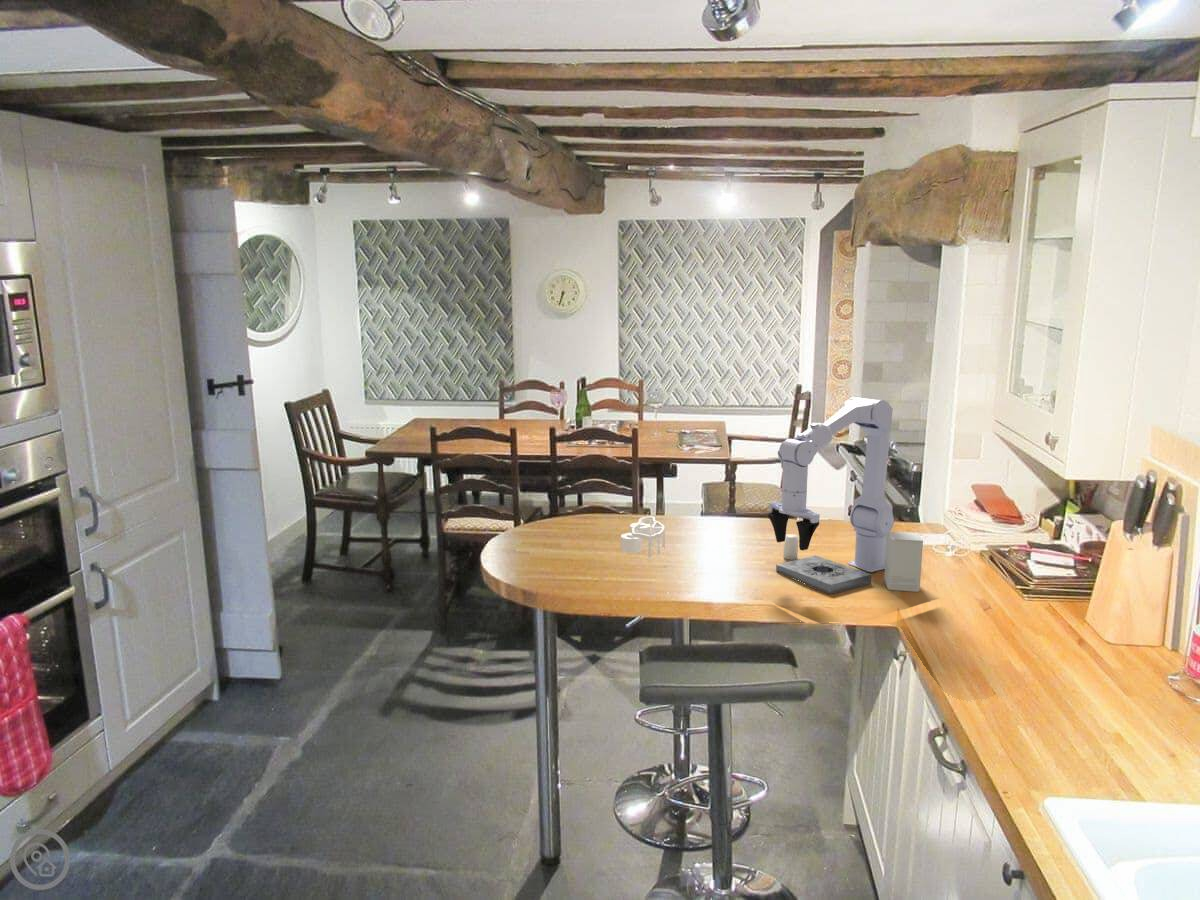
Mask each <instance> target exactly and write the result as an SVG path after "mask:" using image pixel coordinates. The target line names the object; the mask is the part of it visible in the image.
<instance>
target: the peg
mask: <svg viewBox="0 0 1200 900" xmlns="http://www.w3.org/2000/svg"><path fill="white" fill-rule="evenodd" d="M798 553H799V535H797V534H790V533H789V534H787V533H786V537H785V541H784V542H783V555H782V556H783V558H784V559H785V558H786V560H788V559H790V560H789V561H794V560H795V559H796V560H798V558H799V557H798V555H799V554H798Z"/></svg>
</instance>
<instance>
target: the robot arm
mask: <svg viewBox="0 0 1200 900" xmlns="http://www.w3.org/2000/svg"><path fill="white" fill-rule="evenodd" d="M893 410H894V408H893V407H892V405H890V403H889V402H888V401H887V400H884V399H875V398H874V399H873V398H866V397H865V398H864V397H859V396H856V395H855V396H852V397H850V398H849V399H847V400H845V401H844V403H843V407H842V408H841V409H839V410H838V411H837V412H836V413H834V414H833V415H832V416H831V417H830V418H829V419H827V420H826V421H825V422H824V423H822V422H812V423H811V424H810V425H809V427H808V428H807V429H806V430H804V431H803V432H801V433H798V434H797V435H796V437H794V438H787V439H786V440H784V441H782V443H781V444H780V446H779V448H778V449H779V450H777V455H778V459H779V461H780V468H781V469H782V477H781V478H782V480H781V481H782V482H781V483H782V484H781V487H782V488H781V502H778V501H770V502H768V510H769V511H771V512H770V513H768V514H767V517H768V519H769V520H770V523H771V525H772V528H773V531H774V535H775V539H776V543H784V541H785V537H786V535H787V526H788V521H789V518H790V516H791V517H793V518H798V519H801V520H799V521H796V523H795V524H796V527H797V530H798V549H799V550H800V551H806V550H808V549H809V548H810V543H811V540H812V539H813V538H812V537H813V535H814V533H815V532H816V530H817V528H818V526H819V525H820V513H817V512H815V511H813V510H810V509H809V508H807V497H808V474H809V473H808V470H809V465H811V464H812V462H813V460H814V458H815V456H816V455H817V453H818V452H819V451H821V450H822V449H824V448H825V447H826V446H828V445H830V444H831V442H832V440H833V436H834V435H836V434H837V433H839V432H840V431H842V430H843V429H846V427H849V426H850V425H853V424H855V425H857V426H860V428H861V429H862V430H863V431H864V432H865V433H866V434H867V437H866V438H867V439H866V447H865V448H866V450H865V456H864V457H865V458H864V459H865V460H864V470H863V480H862V490H861V491H862V492H861V494H860V495H859V496H858V497H857V498H855V499H854V500H853V505H852V509H851V511H850V512H849V513H850V514H849V522H850V525H851V526H852V527H853V531H854V532H855V544H854V545H855V548H854V560H852V561H848V562H846V565H849V564H850V565H849V566H851V565H852V566H851V567H853V566H854V567H853V568H856V567H857V568H856V569H858V570H859V569H860V570H861V571H864V572H867V573H875V572H877V571H882V570H885V559H886V542H887V532H892V530H893V528H894V523H895V519H894V513H893V508H894V507H893V505H892V503H891V502H890V501H889V500H888V499H887V498H886V497H885V492H886V482H887V471H888V460H889V451H890V450H889V449H890V440H891V439H890V438H891V431H892V421H893Z"/></svg>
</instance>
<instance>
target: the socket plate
mask: <svg viewBox="0 0 1200 900" xmlns="http://www.w3.org/2000/svg"><path fill="white" fill-rule="evenodd" d="M776 570H777V571H779V572H778V573H780V572H781V573H780V574H782V573H783V574H782V575H784V574H785V575H784V576H786V575H787V576H786V577H788V576H789V577H788V578H790V577H792V578H794V579H796V580H799V581H801V582H803V583H805V584H806V585H805V584H804V585H805V586H807V585H809V586H811V587H810V588H812V589H814V588H815V590H818V591H820V592H821V593H822V592H823V593H825V594H827V595H830V596H831V595H836V594H838V593H842V592H845V591H850V590H853V589H856V588H857V589H858V588H860V587H864V586H867V585H871V583H872V573H870V572H867V571H864V570H861V569H860V570H859V569H858V568H855V567H852V566H847V565H845V564H842V563H839V562H836V561H833V560H830V559H827V558H825V557H823V556H819V555H811V556H806V557H804V558H799V559H798V558H797V559H796V560H789V561H785V562H782V563H781V562H780V563H777V564H776V566H775V571H776ZM777 571H776V572H777ZM792 578H791V579H792ZM794 579H793V580H794ZM796 580H795V581H796ZM803 583H802V584H803ZM809 586H808V587H809Z"/></svg>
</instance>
